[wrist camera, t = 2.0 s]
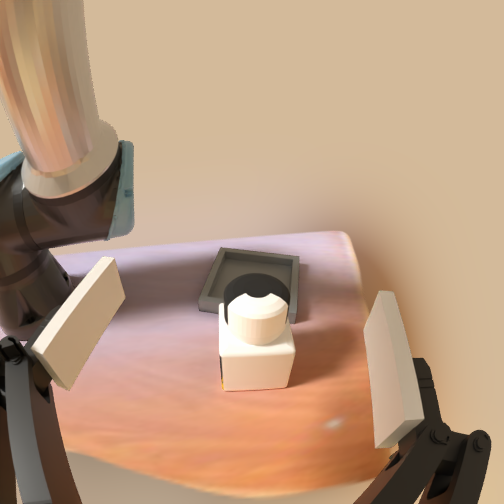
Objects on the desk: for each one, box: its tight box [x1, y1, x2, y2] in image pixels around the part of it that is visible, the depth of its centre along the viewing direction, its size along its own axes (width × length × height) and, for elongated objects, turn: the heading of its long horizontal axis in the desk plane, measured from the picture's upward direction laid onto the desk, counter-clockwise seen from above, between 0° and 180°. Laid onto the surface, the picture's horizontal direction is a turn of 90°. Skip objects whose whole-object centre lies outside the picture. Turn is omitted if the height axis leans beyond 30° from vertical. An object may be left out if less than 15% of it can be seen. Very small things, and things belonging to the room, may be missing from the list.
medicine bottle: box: [219, 273, 296, 391], centre depth 30 cm, size 7×7×12 cm
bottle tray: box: [198, 247, 299, 324], centre depth 44 cm, size 13×13×2 cm
